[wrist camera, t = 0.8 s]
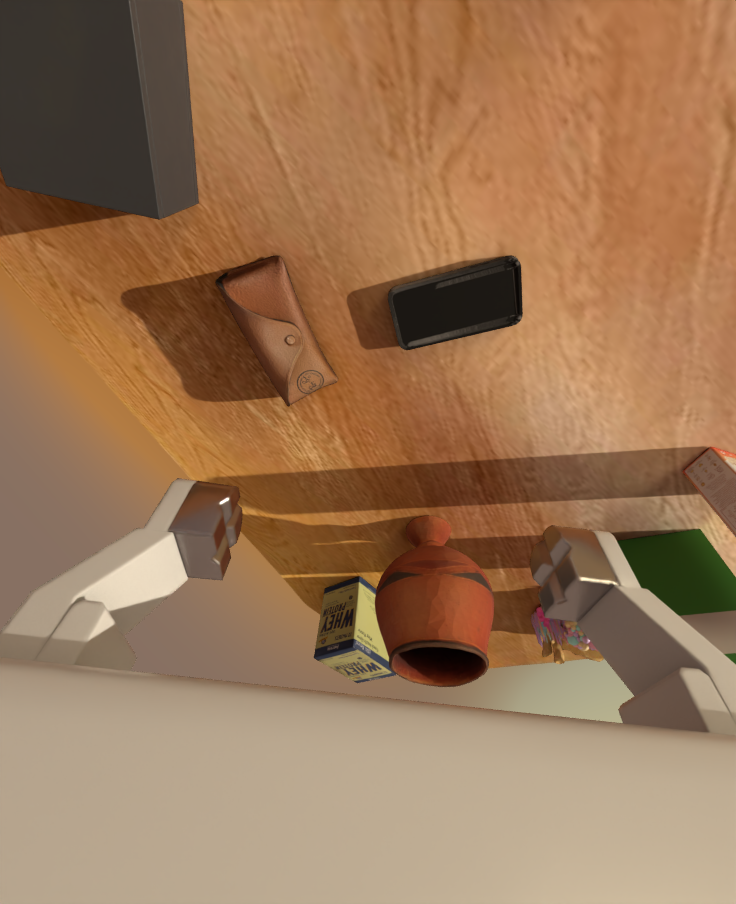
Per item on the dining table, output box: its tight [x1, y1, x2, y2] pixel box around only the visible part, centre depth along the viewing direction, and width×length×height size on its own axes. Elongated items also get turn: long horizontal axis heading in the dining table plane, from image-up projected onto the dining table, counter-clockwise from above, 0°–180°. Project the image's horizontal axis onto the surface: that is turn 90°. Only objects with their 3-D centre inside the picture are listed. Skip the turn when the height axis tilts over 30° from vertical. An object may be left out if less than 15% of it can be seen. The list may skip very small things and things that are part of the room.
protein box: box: [314, 576, 396, 683], centre depth 87 cm, size 10×16×16 cm
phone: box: [388, 255, 523, 350], centre depth 47 cm, size 8×1×15 cm
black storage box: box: [0, 0, 199, 219], centre depth 33 cm, size 15×13×9 cm
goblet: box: [375, 515, 494, 687], centre depth 66 cm, size 19×19×25 cm
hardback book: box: [617, 529, 736, 664], centre depth 66 cm, size 18×7×24 cm, turn 109°
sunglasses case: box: [215, 256, 338, 406], centre depth 50 cm, size 18×7×7 cm
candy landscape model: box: [531, 606, 604, 664], centre depth 87 cm, size 25×24×9 cm
